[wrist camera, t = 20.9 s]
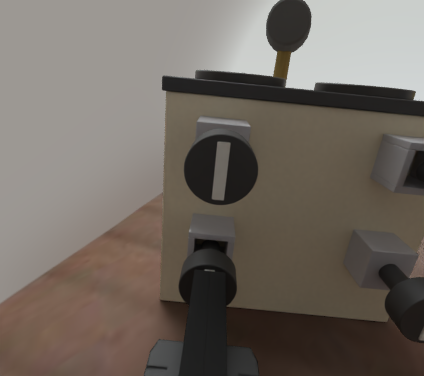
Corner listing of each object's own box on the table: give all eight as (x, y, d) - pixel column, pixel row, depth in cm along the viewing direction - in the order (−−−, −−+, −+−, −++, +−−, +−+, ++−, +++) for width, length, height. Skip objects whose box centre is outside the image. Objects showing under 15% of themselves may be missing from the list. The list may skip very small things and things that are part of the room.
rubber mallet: (281, 183, 51) (319, -7, 40) (242, 176, 53) (268, -9, 42) (281, 165, 63) (310, 14, 52) (249, 161, 64) (271, 12, 53)
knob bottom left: (233, 316, 14) (240, 268, 13) (176, 310, 14) (179, 262, 13) (231, 267, 18) (236, 228, 17) (185, 263, 18) (188, 223, 17)
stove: (454, 415, 16) (656, 104, 9) (131, 383, 16) (126, 51, 9) (338, 249, 31) (386, 91, 25) (176, 233, 31) (185, 71, 25)
